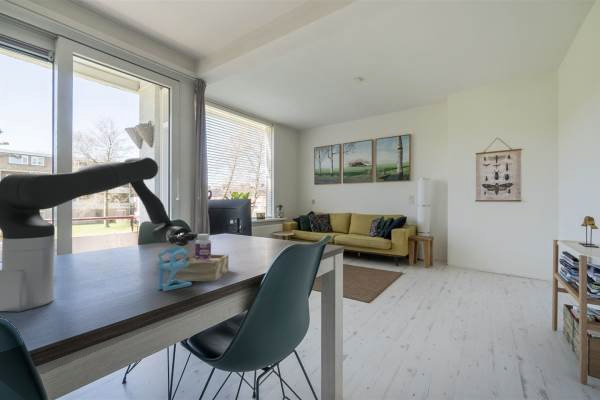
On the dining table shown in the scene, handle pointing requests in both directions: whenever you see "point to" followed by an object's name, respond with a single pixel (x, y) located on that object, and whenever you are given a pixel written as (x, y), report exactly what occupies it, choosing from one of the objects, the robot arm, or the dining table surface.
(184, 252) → the chair
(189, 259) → the birch block
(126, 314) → the dining table surface
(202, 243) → the pill bottle
